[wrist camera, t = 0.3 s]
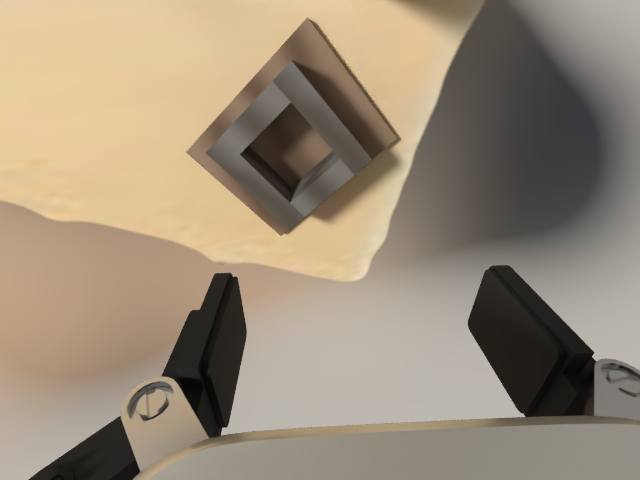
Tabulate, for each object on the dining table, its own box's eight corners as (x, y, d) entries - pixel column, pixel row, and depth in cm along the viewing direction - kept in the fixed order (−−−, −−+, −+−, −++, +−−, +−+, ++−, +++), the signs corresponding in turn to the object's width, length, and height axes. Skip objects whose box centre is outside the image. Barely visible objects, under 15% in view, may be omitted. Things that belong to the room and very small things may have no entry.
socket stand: (307, 18, 32) (308, 10, 27) (394, 136, 38) (409, 148, 33) (188, 150, 38) (170, 164, 33) (281, 232, 45) (278, 255, 39)
